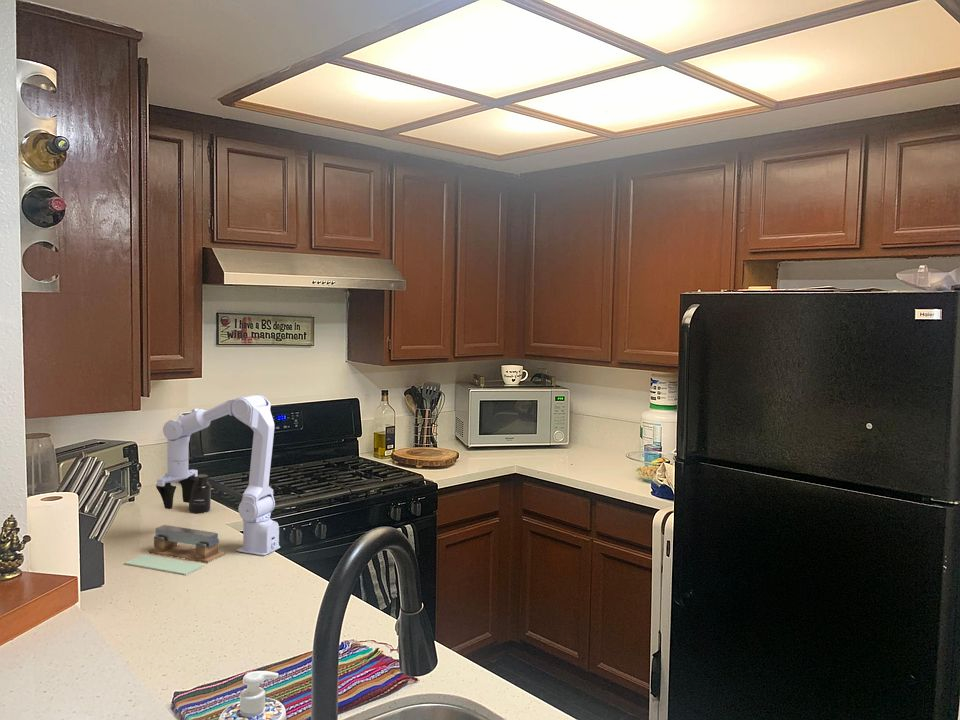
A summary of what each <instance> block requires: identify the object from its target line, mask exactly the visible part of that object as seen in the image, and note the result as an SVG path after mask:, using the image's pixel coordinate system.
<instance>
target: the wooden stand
mask: <svg viewBox="0 0 960 720" xmlns="http://www.w3.org/2000/svg"><path fill="white" fill-rule="evenodd" d="M219 542H220V540H219V538H218V544H216V545H214V546H212V547H206V544H202V543H196V545H195V547H192V546H191V547H189V546H185V545H179V544H178V542H172V541H166V540H164V537H159V536H155V535H154V536H153V548H151V549H148V550H147V553H148V552H149V553H148V554H152V553H154V554H153V555H158V554H160V556H164V555H167V556H166V557H169V556H173V557H172V558H175V557H179V558H178V559H181V558H185V559H184V560H187V559H190V560H189V561H193V560H194V562H198V561H201V562H200V563H204V562H206V564H209V563H211V562H213V561H215V560H217V558H218V559H219V557H220V558H222V557H224V556H225V555H226V553H225V552H221V551H220V549H219V548H220V547H219V546H220V545H219ZM223 555H224V556H223ZM221 556H222V557H221ZM214 559H215V560H214ZM212 560H213V561H212ZM210 561H211V562H210ZM208 562H209V563H208Z"/></svg>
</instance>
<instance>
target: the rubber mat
mask: <svg viewBox="0 0 960 720" xmlns="http://www.w3.org/2000/svg"><path fill="white" fill-rule="evenodd" d="M123 564H124V565H126V564H127V566H131V565H133V567H137V566H138V567H139V568H142V567H144V568H143V569H148V568H149V570H153V569H155V570H154V571H159V570H161V571H160V572H165V571H167V572H166V573H170V572H173V573H172V574H176V573H180V574H179V575H181V574H185V575H184V576H187V575H186V574H188V575H190V574H192V573H194V572H196V571H199V570H200V568H201V569H203V568H205V567H204V566H205V565H204V564H200V563H194V562H189V561H182V560H177V559H172V558H171V559H170V558H165V557H158V556H154V555H148V554H142V555H140V556H136V557H134V558H132V559H130V560H127V561H125V562H123ZM138 567H137V568H138ZM202 567H203V568H202ZM198 569H199V570H198ZM195 570H196V571H195ZM193 571H194V572H193ZM191 572H192V573H191ZM189 573H190V574H189Z"/></svg>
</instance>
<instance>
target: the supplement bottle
mask: <svg viewBox="0 0 960 720" xmlns="http://www.w3.org/2000/svg"><path fill="white" fill-rule="evenodd" d="M195 478H199V481H198V483H197V485H196V486H195V489H194V491H193V494H192V498H191V502H190V503H188V511H189V513H191V514H204V512H206V513H208V512H210V510H211V500H212V499H211V497H212V496H211V495H212V485H211V484H210V482H209V475H208V474H204V473H203V474H202V473H201V474H198V476H197V477H195Z"/></svg>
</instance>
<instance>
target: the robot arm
mask: <svg viewBox="0 0 960 720" xmlns="http://www.w3.org/2000/svg"><path fill="white" fill-rule="evenodd" d="M271 408H272V407H271V402H270V401H269V400H268V399H267V398H266V397H265V396H264V395H263V394H261V393H256V394H253V395H248V396H239V397H237V398H234V399H233V398H232V399H227V400H226V401H224V402H222V403H220V404H218V405H216V406H213V407H211V408H209V409H207V410H206V409H203V408H200V409H199V408H198V407H197V408H193V409H191V412H189V413H187V414H180V415H179V416H178V417H179V418H177V419H169V420H168V421H166V422H165V423H164V425H163V427H162V431H163V435H164V437H165V438H166V439H167V466H166V467H167V468H166V469H167V472H166V473H165V474H164V475H163V476H162V477H159V478H157V479H156V485H155V486H156V487H155V488H156V490H157V491H158V493H159V494H160V497H161V499H162V503H163V506H164V509H166V510H167V509H168V510H172V509H173V505H174V497H175V491H176V489H177V486H176V485H172V484H173V483H177V482H179V483H180V486H181V492H182V501H183V503H185V504H189V503H190V502H191V498H192V494H193V491H194V489H195V486H196V485H197V483H198V481H199V478H195V477H197V476H198V469H193V468H192V469H189V456H190V455H189V447H190V446H189V445H190V444H189V443H190V440H191V439H190V438H191V436H192V434H195V433H197V432H200V431H202V430H204V429H206V428H208V427H210V425H211V421H215V420H217V419H220V418H223V417H226V416H227V415H229V416H230V417H231V416H233V417H235V418H236V419H237V420H238V421H240V422H242V424H245V425H246V426H248V427H249V428H250V429H251V430H252V431H253V437H252V445H251V446H252V447H251V448H252V449H251V456H250V457H251V458H250V467H249V475H248V476H249V478H248V486H247V487H246V489H245V490H244V492H243V493H242V499H241V501H240V503H239V504H238V511H237V512H238V514H239V516H240V517H241V518H242V522H243V525H242V528H243V529H242V531H243V533H242V540H243V541H242V546H241V547H239V548H237V549H236V552H239V553H246V554H251V555H252V554H253V555H257V556H267V555H268V554H271V553H272V552H274V551H276V550H278V549H280V548H281V546H280V525H279V523H278V521H275V520H272V519H271V516H272V515H271V513H272V512H273V511H274V509H275V506H276V501H275V498H274V489H273V488H272V487H271V486H269V484H270V473H271V466H272V465H271V464H272V456H273V445H274V437H275V435H274V434H275V422H274V418H273V415H272V411H271Z"/></svg>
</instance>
